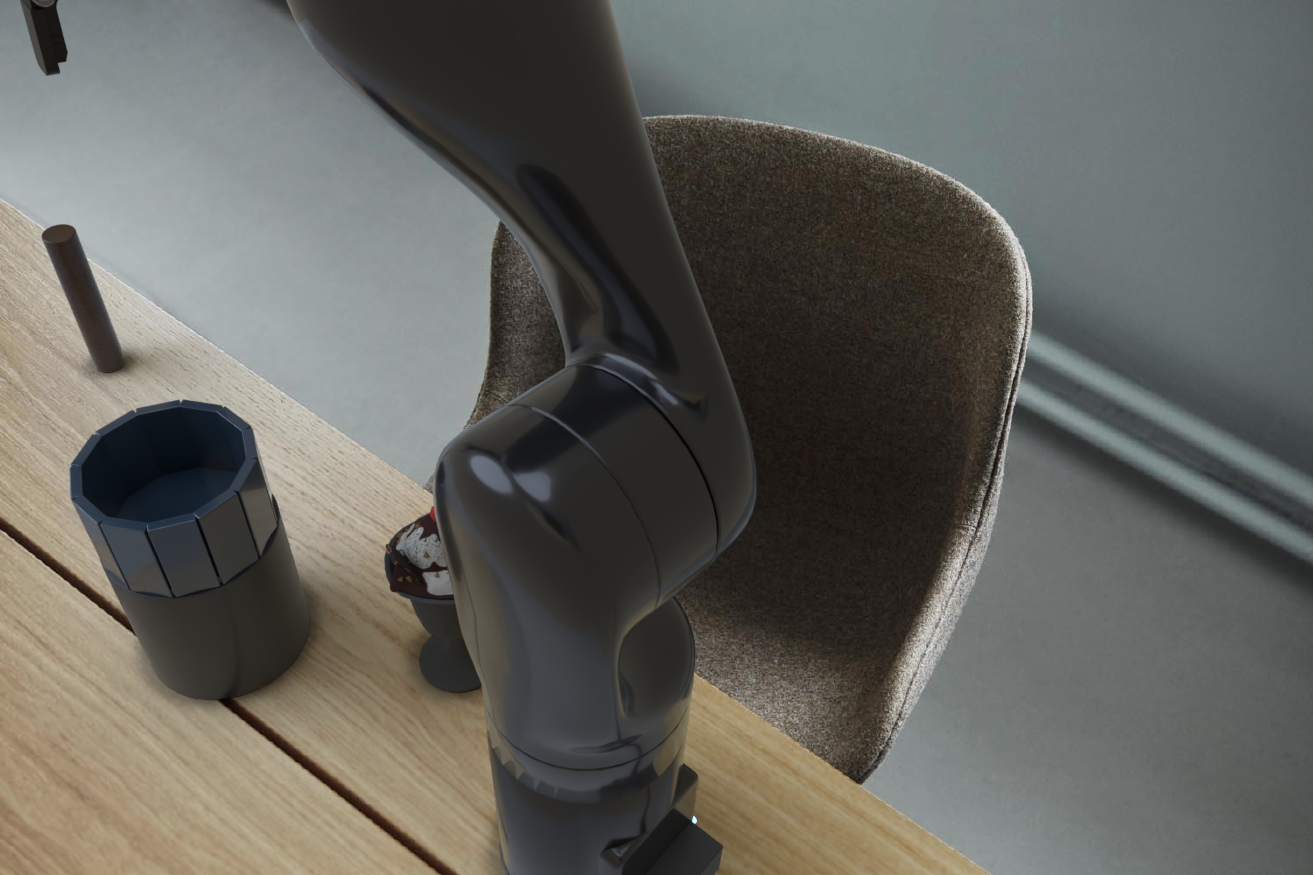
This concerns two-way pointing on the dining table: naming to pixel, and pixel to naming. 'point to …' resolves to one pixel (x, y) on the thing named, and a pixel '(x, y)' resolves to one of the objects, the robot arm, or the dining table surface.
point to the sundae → (431, 603)
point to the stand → (225, 627)
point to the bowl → (174, 497)
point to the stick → (83, 296)
